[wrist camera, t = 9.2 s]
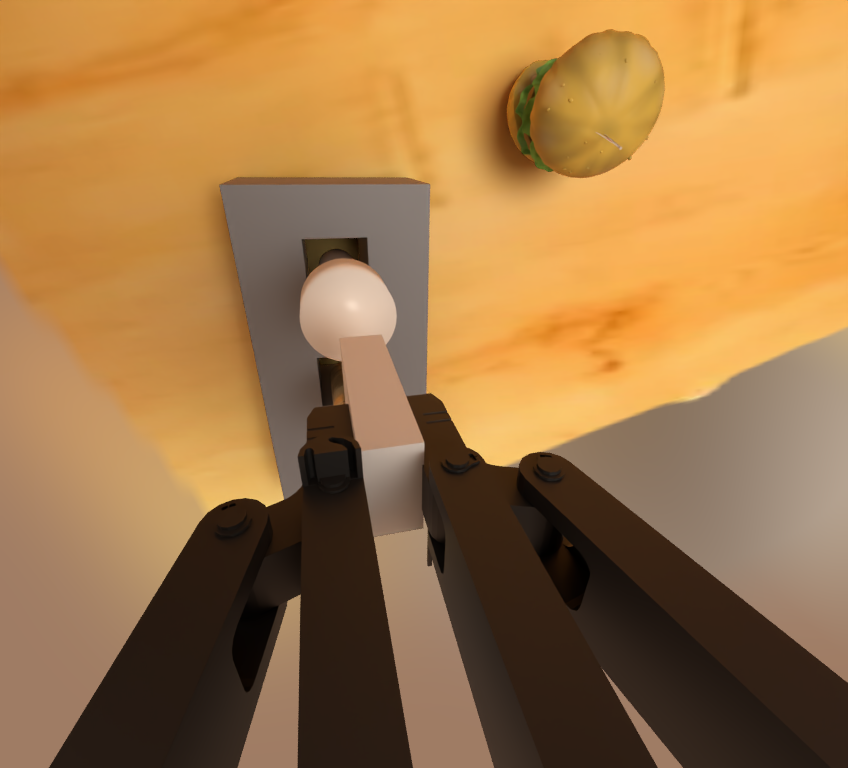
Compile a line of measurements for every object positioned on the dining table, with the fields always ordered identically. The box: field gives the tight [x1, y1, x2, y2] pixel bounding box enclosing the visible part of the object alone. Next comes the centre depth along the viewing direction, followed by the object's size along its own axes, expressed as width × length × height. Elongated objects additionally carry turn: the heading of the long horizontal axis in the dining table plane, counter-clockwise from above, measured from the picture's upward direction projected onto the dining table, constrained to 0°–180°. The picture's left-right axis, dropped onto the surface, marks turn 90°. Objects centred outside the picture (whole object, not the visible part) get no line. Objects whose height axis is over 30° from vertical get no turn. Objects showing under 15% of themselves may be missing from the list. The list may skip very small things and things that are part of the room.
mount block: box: [220, 178, 430, 500], centre depth 34 cm, size 12×26×7 cm, turn 179°
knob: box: [300, 249, 397, 361], centre depth 23 cm, size 4×4×10 cm
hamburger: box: [507, 29, 665, 178], centre depth 26 cm, size 8×7×12 cm
